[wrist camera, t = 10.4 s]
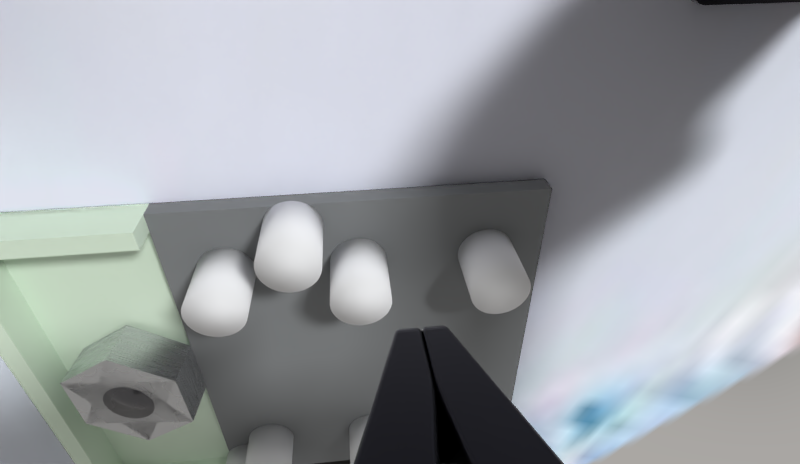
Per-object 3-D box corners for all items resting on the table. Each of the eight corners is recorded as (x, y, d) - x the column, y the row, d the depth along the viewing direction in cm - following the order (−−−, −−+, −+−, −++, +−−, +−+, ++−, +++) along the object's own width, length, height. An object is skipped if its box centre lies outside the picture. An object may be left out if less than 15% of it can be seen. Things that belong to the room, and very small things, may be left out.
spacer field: (545, 175, 21) (577, 220, 18) (499, 432, 31) (515, 485, 29) (-44, 210, 19) (-108, 267, 16) (116, 471, 29) (94, 532, 27)
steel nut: (182, 323, 22) (165, 359, 21) (213, 403, 26) (200, 439, 24) (71, 325, 22) (45, 361, 21) (116, 405, 26) (97, 441, 24)
